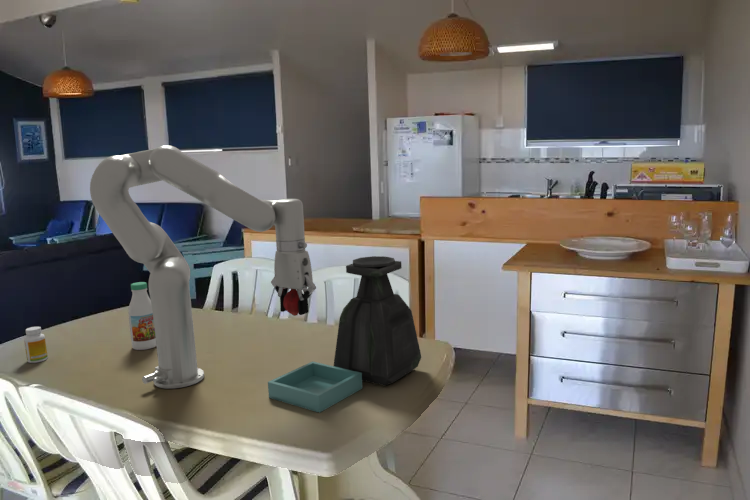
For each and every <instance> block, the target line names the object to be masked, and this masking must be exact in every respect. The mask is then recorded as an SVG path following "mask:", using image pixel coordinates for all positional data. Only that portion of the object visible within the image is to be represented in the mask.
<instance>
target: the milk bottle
mask: <svg viewBox="0 0 750 500" xmlns="http://www.w3.org/2000/svg"><path fill="white" fill-rule="evenodd" d="M130 290H131V292H132V293H131V294H132V295H131V300H130V303H129V306H128V323H129V332H130V340H131V341H130V342H131V347H132V349H133V350H136V351H143V350H151V349H153V348H155V347H156V348H157V346H156V336H155V327H154V320H153V311H152V304H151V299H150V295H149V294H148V292H147V290H148V283H147V282H145V281H139V282H133V283H130Z"/></svg>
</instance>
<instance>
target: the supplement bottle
mask: <svg viewBox="0 0 750 500" xmlns="http://www.w3.org/2000/svg"><path fill="white" fill-rule="evenodd" d="M25 334H26V336H25V337H24V338H23V339H24V340H23V342H24V348H25V355H26V357H25V358H26V360H27V361H26V362H28V363H31V364H36V363H41V362H44V361H47V359H48V358H49V357H48V348H47V343H46V337H45V334H44V333H42V327H41V326H30V327H27V328H26V329H25Z"/></svg>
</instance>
